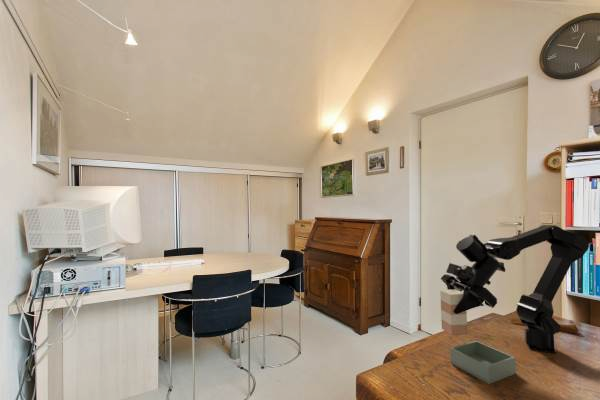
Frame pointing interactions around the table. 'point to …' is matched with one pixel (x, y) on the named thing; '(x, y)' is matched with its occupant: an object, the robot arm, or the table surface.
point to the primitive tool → (563, 328)
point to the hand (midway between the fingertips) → (449, 309)
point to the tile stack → (452, 313)
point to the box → (483, 361)
